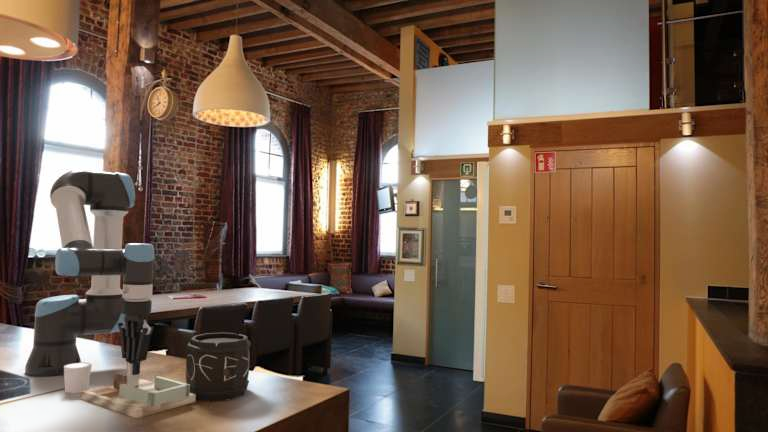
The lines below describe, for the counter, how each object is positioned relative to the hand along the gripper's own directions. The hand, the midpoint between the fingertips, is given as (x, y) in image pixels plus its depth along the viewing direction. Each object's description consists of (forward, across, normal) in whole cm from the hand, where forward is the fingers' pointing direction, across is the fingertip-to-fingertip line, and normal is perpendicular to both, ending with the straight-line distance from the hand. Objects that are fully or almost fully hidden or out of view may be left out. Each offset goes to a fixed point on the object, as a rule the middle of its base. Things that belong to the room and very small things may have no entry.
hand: (132, 385), depth 149 cm
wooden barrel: (+3, +15, +17) cm, 23 cm away
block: (+1, -3, 0) cm, 3 cm away
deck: (+3, +4, -1) cm, 5 cm away
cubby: (+1, +10, 0) cm, 10 cm away
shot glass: (+3, -17, -6) cm, 18 cm away
